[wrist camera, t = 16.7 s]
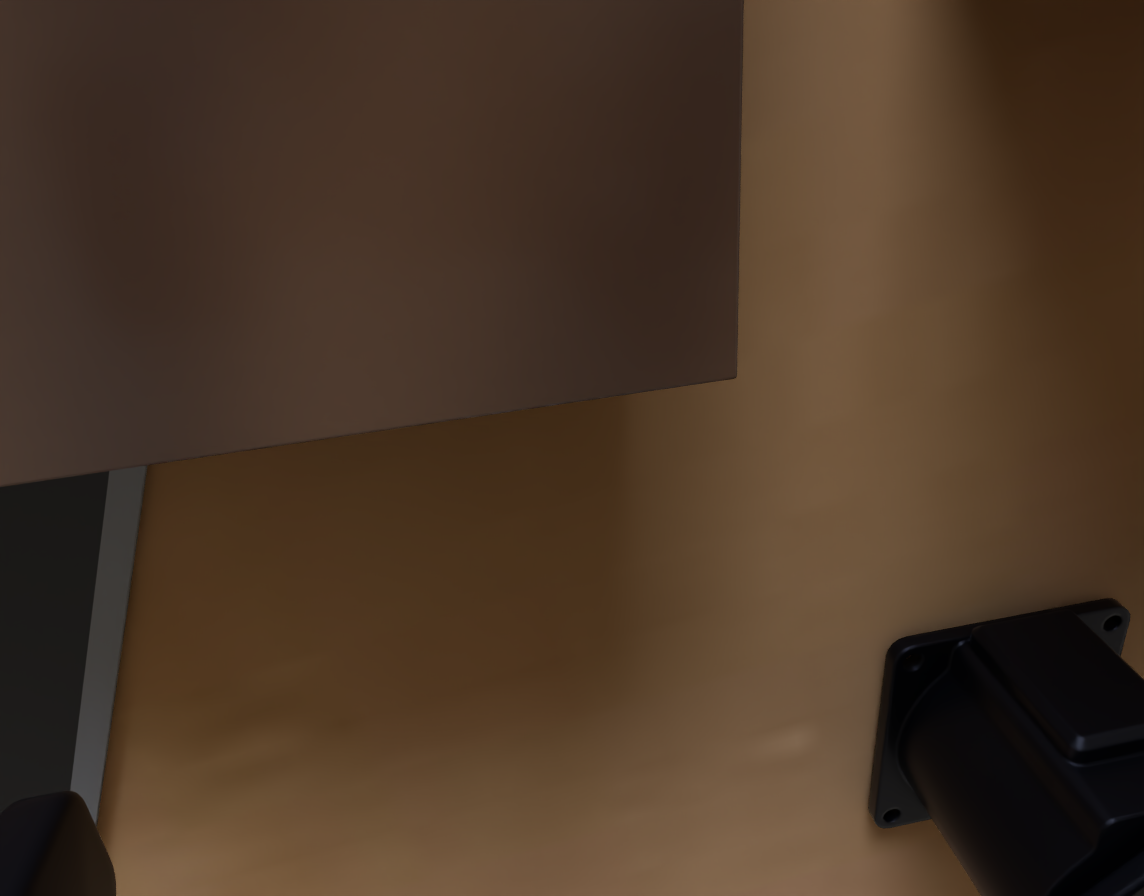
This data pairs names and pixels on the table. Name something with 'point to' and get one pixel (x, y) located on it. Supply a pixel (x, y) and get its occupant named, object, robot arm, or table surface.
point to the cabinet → (354, 217)
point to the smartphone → (63, 628)
